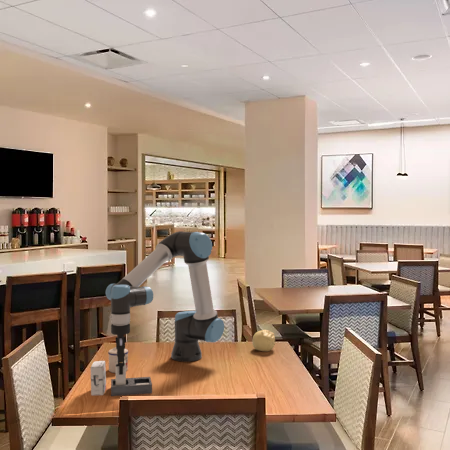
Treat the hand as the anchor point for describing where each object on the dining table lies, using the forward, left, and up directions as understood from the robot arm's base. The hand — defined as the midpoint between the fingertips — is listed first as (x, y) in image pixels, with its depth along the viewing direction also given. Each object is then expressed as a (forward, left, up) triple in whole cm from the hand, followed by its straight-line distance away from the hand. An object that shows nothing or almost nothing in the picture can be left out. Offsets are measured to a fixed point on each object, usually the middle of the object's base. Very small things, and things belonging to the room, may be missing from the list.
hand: (120, 377), depth 213 cm
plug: (0, 0, -6) cm, 6 cm away
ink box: (+9, -1, -6) cm, 11 cm away
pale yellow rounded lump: (-75, -50, -6) cm, 91 cm away
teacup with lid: (0, -31, -6) cm, 32 cm away
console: (-4, 0, -6) cm, 7 cm away
